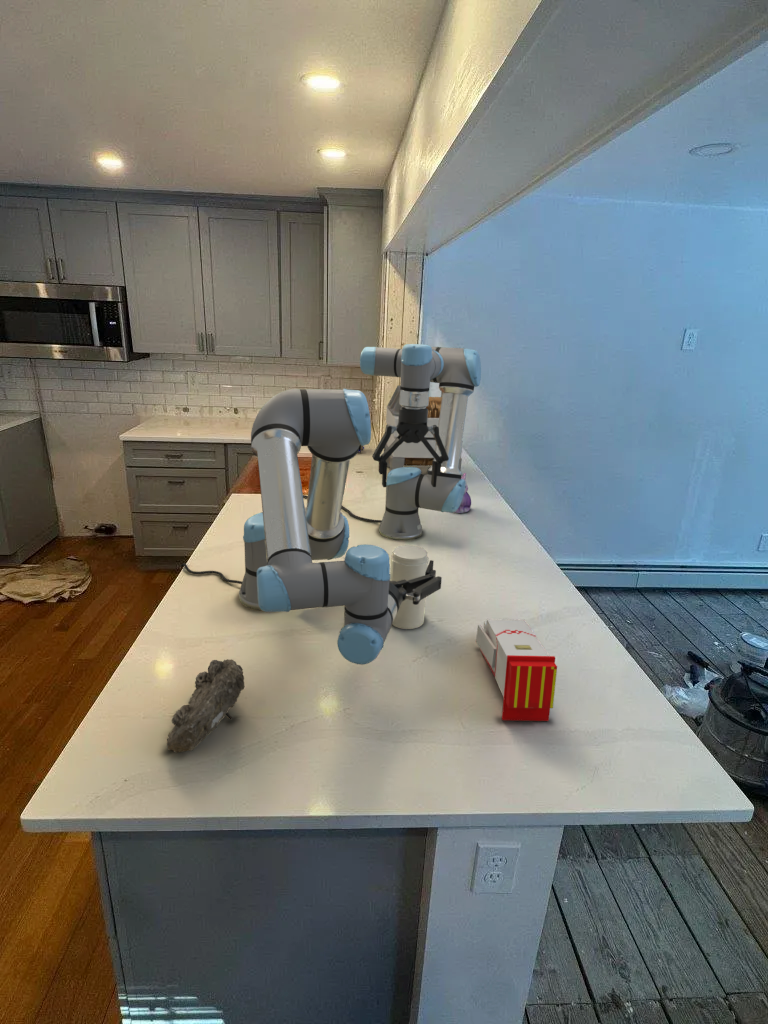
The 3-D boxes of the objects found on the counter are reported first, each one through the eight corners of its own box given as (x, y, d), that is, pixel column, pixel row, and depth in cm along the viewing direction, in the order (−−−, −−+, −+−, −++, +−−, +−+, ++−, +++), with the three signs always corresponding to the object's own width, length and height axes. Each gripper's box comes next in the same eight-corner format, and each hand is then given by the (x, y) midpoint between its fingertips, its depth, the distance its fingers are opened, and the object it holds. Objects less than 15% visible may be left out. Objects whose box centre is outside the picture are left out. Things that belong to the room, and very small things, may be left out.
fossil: (192, 660, 117) (244, 628, 112) (224, 691, 120) (276, 661, 115) (142, 746, 98) (202, 712, 93) (182, 779, 101) (242, 748, 96)
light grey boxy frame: (382, 463, 289) (386, 382, 275) (445, 464, 293) (451, 384, 279) (390, 482, 257) (394, 392, 243) (460, 483, 261) (468, 394, 247)
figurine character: (364, 456, 305) (364, 447, 319) (364, 443, 302) (364, 434, 315) (351, 456, 305) (352, 446, 318) (351, 443, 302) (352, 434, 315)
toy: (523, 604, 135) (566, 662, 106) (518, 656, 138) (559, 727, 109) (472, 603, 135) (501, 661, 105) (468, 655, 138) (496, 726, 108)
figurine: (457, 515, 220) (461, 478, 215) (443, 507, 229) (446, 471, 224) (477, 512, 224) (481, 475, 219) (462, 504, 233) (466, 469, 228)
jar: (380, 618, 145) (383, 550, 139) (405, 606, 151) (409, 541, 145) (406, 633, 139) (411, 562, 133) (431, 620, 145) (436, 552, 139)
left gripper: (317, 613, 113) (348, 569, 132) (441, 633, 108) (455, 584, 127) (317, 579, 110) (349, 539, 130) (444, 598, 105) (458, 554, 124)
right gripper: (367, 408, 140) (364, 490, 148) (464, 410, 144) (457, 489, 151) (363, 403, 147) (361, 481, 155) (456, 405, 151) (450, 481, 158)
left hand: (401, 561), depth 128 cm, fingers open, 13 cm apart
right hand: (408, 485), depth 153 cm, fingers open, 13 cm apart
